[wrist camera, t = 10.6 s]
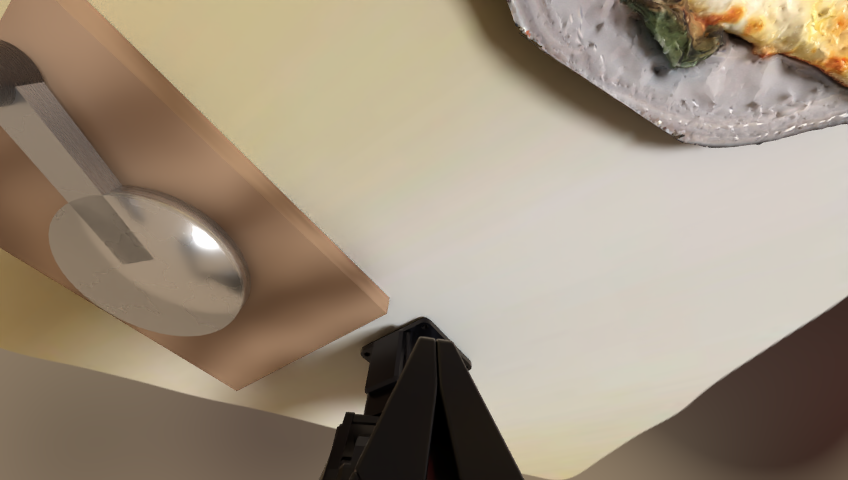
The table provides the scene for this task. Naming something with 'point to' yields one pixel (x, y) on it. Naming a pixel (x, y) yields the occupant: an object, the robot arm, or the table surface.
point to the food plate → (705, 61)
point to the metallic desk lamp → (121, 223)
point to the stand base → (178, 194)
